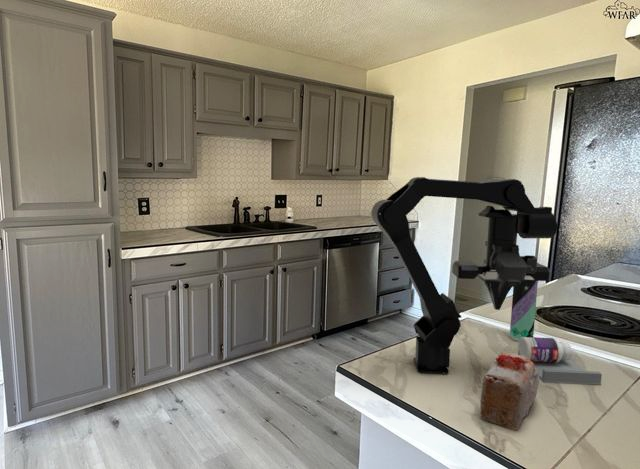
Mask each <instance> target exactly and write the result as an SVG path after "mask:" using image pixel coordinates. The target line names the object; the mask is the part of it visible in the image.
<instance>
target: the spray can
mask: <svg viewBox="0 0 640 469" xmlns="http://www.w3.org/2000/svg"><path fill="white" fill-rule="evenodd" d="M538 284H539V281H535V280H534V279H533V278H532V277H531V276H526V275H525V279H524V280H523V281H521V283H520V284H516V285H514V286H513V287H512V301H511V314H510V315H511V316H510V326H509V338H510V339H511V340H513V341H516V342H518V343H519V340H520V338H522V337H534V332H535V320H536V319H535V318H536V311H537V310H536V308H537V296H538Z"/></svg>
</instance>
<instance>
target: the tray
mask: <svg viewBox="0 0 640 469" xmlns="http://www.w3.org/2000/svg"><path fill="white" fill-rule="evenodd" d="M517 354H518V355H520V354H519V349H518V350H517ZM533 363H534V364H535V368H536V369H537V370H539V379H541V380H542V381H543V382H544V383H554V384H555V383H556V384H574V385H575V384H576V385H577V384H578V385H595V386H596V385H597V386H600V385H601V384H602V375H603V374H602V373H601V372H600V371H589V370H585V369H584V368H582V367H581V366H580V365H579V364H577V363H576V362H575V360H573V359H572V358H571V359H570V360H560V361H559V362H557V363H550V362H533Z"/></svg>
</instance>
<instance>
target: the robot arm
mask: <svg viewBox="0 0 640 469" xmlns="http://www.w3.org/2000/svg"><path fill="white" fill-rule="evenodd" d="M425 197H435V198H436V197H437V198H450V199H464V200H473V201H477V202H480V203H483V204H488V205H487V206H486V207H485V208H484V209H483V210H482V211H480V212H478V216H479V217H483V218H487V219H488V222H487V223H488V224H487V225H488V226H487V237H486V241H485V242H484V245H485V246H486V254H485V258H484V260H483V262H484V265H477V264H476V263H474V262H473V261H471V260H455V261H454V262H453V263H452V266H451V267H452V268H451V269H452V270H451V273H452V274H453V275H454V276H456V278H457V279H464V280H465V279H466V280H475V279H476V278H477V277H478V278H479V279H480V280H481V281H483V282H484V284H485V286H486V288H487V291H488V294H489V297H490V300H491V303H492V306H493V309H494V310H495V311H499V310H501V307H502V306H503V304H504V301H505V300H506V298H507V296H508V294H509V293H510V291H511V289H513V286H514V285H516V284H520V283H521V281H523V280H524V279H525V275H526V276H531V277H532V278H533V279H534V280H535V281H538V282H539V281H540V282H550V281H551V270H550V267H548V266H546V265H544V264H541V263H539V262H538V259H537V257H536V256H535V255H524V256H523V255H522V256H521V255H520V248H519V247H520V246H519V245H518V244H517V241H518V236H519V237H520V238H521V239H552V238H554V236H555V235H556V234H557V231H558V226H559V225H558V223H557V222H558V221H557V218H556V216H555V214H554V213H553V207H552V206H539V207H535V206H534V205H533V203H532V201H531V200H530V199H529V197H528V195H527V194H526V188H525V186H524V184H523V183H522V181H520V180H519V179H514V178H511V179H509V178H508V179H507V178H504V179H503V178H499V179H498V178H497V179H490V180H482V181H467V180H465V181H463V180H452V179H451V180H450V179H438V178H436V179H435V178H428V177H425V176H420V177H419V176H416V177H415V176H414V177H413V178H411V179H409V181H408V182H406V183H405V184H404V185H403V186H401V187H400V188H399V189H397V191H395V192H393V193H392V194H391V195H390V196H388V197H387V198H386V199H381V200H379V201H377V202H376V203H374V205H373V206H372V208H371V213H370V214H371V218H372V220H373V222H374V223H375V225H376V226H377V227H378V228H379V230H380V231H381V232H382V233H383V235H384V236H385V237H386V238H387V240H388V241H389V242H390V243H391V244H392V247H393V248H394V250H395V252H396V254H397V256H398V258H399V261H400V263H401V264H402V266H403V269H404V270H405V271H406V273H407V275H408V278H409V280H410V281H411V283H412V286H413V288H414V289H415V291H416V293H417V295H418V297H419V301H420V308H421V309H420V310H421V313H422V316H421V317H420V318H419V319H417V321H416V322H414V324H413V329H414V331H415V333H416V334H417V336H415V353H414V354H415V357H413V362H414V365H415V368H416V371H417V372H418V373H426V374H442V375H443V374H444V375H445V374H446V375H447V374H449V368H450V360H451V359H450V358H451V349H450V347H451V344H452V342H453V339H454V337H455V336H457V334H458V332H459V331H460V329H461V325H462V324H461V320H460V319H461V318H462V315H460V313H458V311H457V307H456V305H455V304H456V303H455V301H454V300H453V299H452V298H451V297H449V296H448V295H446V294H445V293H443V292H442V293H441V294H440V292H439V291H438V289H437V287H436V285H435V283H434V281H433V279H432V277H431V275H430V273H429V271H428V268H427V267H426V265H425V263H424V261H423V258H422V257H421V255H420V253H419V251H418V248H416V245H415V243H414V241H413V239H412V236H411V230H410V223H409V221H408V217H407V215H408V214H409V213H411V212H412V211H413V210H414V209H415V207H416V206H418V204H419V203H420V202H421V200H422V199H424V198H425ZM494 206H497V207H501V208H503V209H500V208H499V209H496V208H495V207H494ZM511 211H512V212H516V213H511Z"/></svg>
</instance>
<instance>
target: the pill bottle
mask: <svg viewBox="0 0 640 469" xmlns="http://www.w3.org/2000/svg"><path fill="white" fill-rule="evenodd" d="M517 347H518V349H519V354H520V355H521V356H523V357H525V358H527V359H529V360H530V361H532V362H550V363H557V362H559V361H560V360H570V359H571V360H572V356H573V350H572V346H571V344H570V343H569V342H568V341H559V340H558V339H556V338H554V337H537V336H536V337H535V336H533V337H522V338H520V340H519V342H518V345H517Z"/></svg>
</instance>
